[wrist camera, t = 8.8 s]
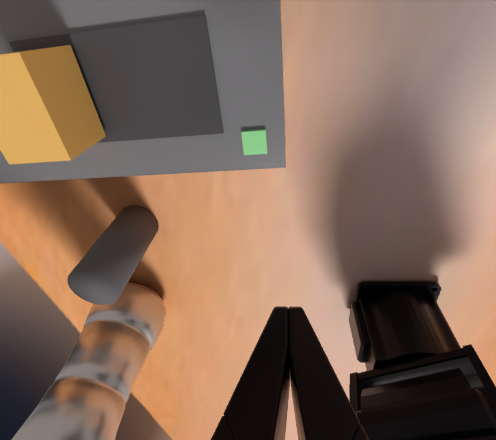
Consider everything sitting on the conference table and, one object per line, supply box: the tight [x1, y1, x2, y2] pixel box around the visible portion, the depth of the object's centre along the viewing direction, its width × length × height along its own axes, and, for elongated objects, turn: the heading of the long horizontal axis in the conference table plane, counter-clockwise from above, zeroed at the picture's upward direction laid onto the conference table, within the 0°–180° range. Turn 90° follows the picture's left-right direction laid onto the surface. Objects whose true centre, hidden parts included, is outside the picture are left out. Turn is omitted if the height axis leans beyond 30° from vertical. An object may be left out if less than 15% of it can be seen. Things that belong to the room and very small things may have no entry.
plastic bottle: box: [12, 283, 166, 440], centre depth 21 cm, size 6×7×20 cm
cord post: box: [68, 206, 158, 305], centre depth 21 cm, size 3×3×7 cm
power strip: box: [0, 0, 286, 183], centre depth 16 cm, size 23×9×4 cm, turn 96°
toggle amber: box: [0, 45, 106, 164], centre depth 13 cm, size 3×4×3 cm
